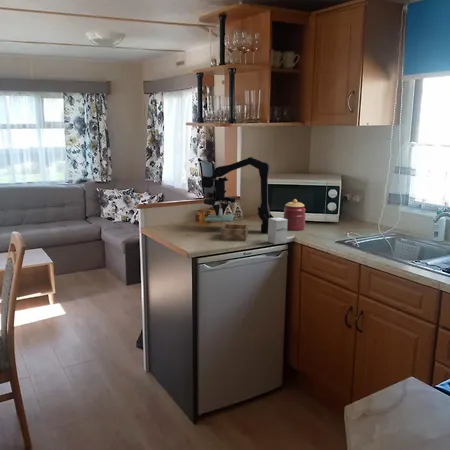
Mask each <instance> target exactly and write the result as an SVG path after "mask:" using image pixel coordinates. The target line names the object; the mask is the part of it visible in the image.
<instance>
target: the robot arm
mask: <svg viewBox="0 0 450 450" xmlns="http://www.w3.org/2000/svg"><path fill="white" fill-rule="evenodd" d="M246 166H252V167H254V168H255V169H257V170H258V173H259V177H260V205H258V206H257V211H258V212H257V215H258V217H259V219H260V220H261V223H260V232H261V234H268V221H269V218H275V217H274V216H273V215H272V214H271V209H270V205H269V182H268V181H269V175H270V169H271V165H270V163H269V162H267V161H261V160H259V159H256V158H255V157H253V156H249V157H247V158H245V159H242V160H240V161H239V160H238V161H237V162H233V163H231V164H226V165H225V164H224V165H220V166H217V167H215V168H214V171H213V174H211V176H208V175H203V176H202V180H201V183H200V184H201V188H202V189H213V187H214V190H212V192H211V191H208V192H206V198H205V199H204V200H203V204H204V205H207V206H212V208H213V211H214V213H215V215H216V216H218V214H219V208H222V209H223V210H222V215H225V212H226V211H227V210H226V209H228V207H229V205H230V204H231V203H236V198H235V197H234V196H229V195H228V196H226V193H227V190H226V182H228V181H229V178H227V176H226V175H227V174H229V173H231V172H232V171H235V170H237V169H238V170H239V169H241V168H244V167H246ZM223 176H224V177H223ZM217 178H218V179H217Z"/></svg>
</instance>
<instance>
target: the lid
mask: <svg viewBox="0 0 450 450" xmlns="http://www.w3.org/2000/svg"><path fill="white" fill-rule="evenodd" d="M222 210H223V209H222V208H221V207H219V214H218V216H216V214H208V215H207V216H206V217H205V218H204V221H205V222H224V223H226V222H227V223H231V222H232V221H233V219H234V217H235V215H234V214H223V215H222Z"/></svg>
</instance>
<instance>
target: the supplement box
mask: <svg viewBox="0 0 450 450" xmlns="http://www.w3.org/2000/svg"><path fill="white" fill-rule="evenodd" d="M287 222H288V220H287V219H284V217H274V218H269V221H268V233H267V242H269V243H271V244H274V245H279V244H287V240H288V237H287V236H288V230H287Z"/></svg>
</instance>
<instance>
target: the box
mask: <svg viewBox="0 0 450 450" xmlns="http://www.w3.org/2000/svg"><path fill="white" fill-rule="evenodd" d="M220 232H221V234H220V240H221V241H237V242H247V238H248V236H249V233H248V232H249V225H248V224H239V223H237V224H235V223H224V224H223V226H222V227H221V229H220Z"/></svg>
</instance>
